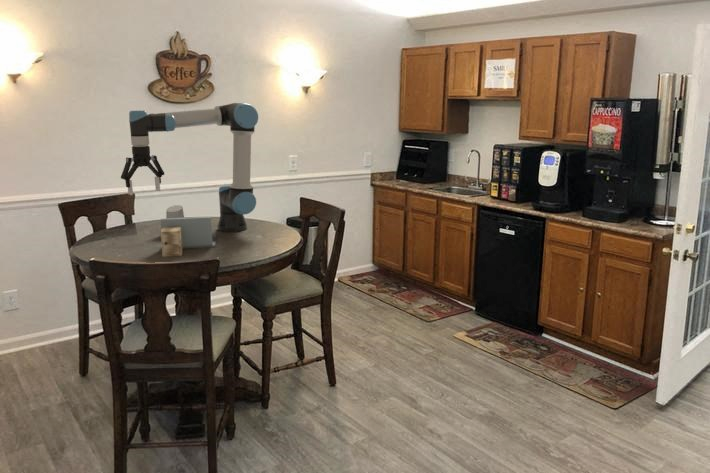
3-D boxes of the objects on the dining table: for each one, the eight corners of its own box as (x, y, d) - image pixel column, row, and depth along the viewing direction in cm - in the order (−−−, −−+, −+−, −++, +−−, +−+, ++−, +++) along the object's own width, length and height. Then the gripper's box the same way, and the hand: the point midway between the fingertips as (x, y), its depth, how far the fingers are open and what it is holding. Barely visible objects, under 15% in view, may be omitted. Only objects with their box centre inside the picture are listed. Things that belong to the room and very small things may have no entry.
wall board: (215, 243, 277) (213, 214, 273) (214, 246, 271) (213, 217, 268) (162, 246, 272) (159, 217, 269) (160, 249, 266) (158, 219, 263)
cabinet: (183, 249, 266) (181, 226, 264) (181, 256, 256) (179, 231, 253) (165, 250, 265) (163, 227, 262) (162, 257, 254) (160, 232, 251)
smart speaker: (162, 234, 295) (160, 207, 292) (174, 230, 304) (172, 204, 300) (178, 236, 292) (176, 208, 289) (189, 232, 300) (187, 205, 297)
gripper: (160, 143, 273) (164, 188, 278) (109, 147, 254) (114, 195, 259) (169, 144, 268) (173, 190, 273) (118, 148, 250) (123, 197, 255)
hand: (144, 192), depth 266 cm, fingers open, 13 cm apart
